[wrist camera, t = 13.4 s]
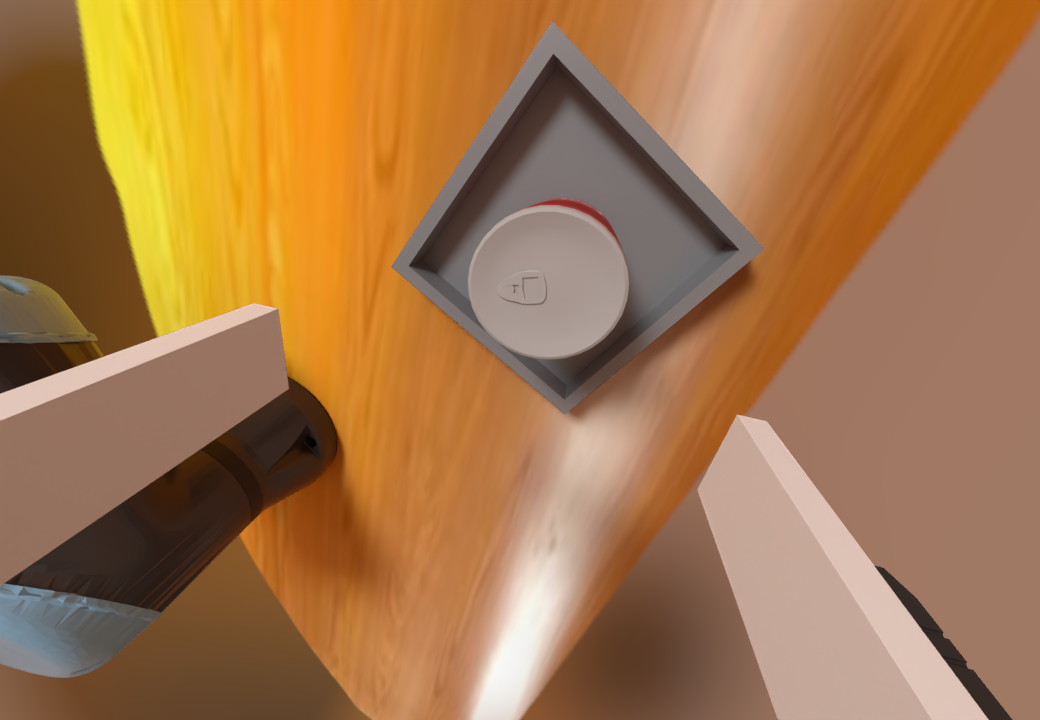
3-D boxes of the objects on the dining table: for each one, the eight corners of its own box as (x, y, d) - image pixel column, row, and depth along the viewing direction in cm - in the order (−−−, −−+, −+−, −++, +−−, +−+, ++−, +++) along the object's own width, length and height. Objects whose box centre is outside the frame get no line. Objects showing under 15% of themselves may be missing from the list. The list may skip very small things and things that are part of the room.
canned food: (494, 221, 28) (440, 242, 18) (599, 178, 25) (604, 174, 16) (530, 314, 30) (500, 377, 21) (628, 283, 28) (648, 337, 18)
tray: (411, 258, 31) (391, 266, 28) (557, 42, 23) (552, 21, 20) (567, 393, 34) (565, 414, 31) (744, 240, 26) (764, 248, 23)
